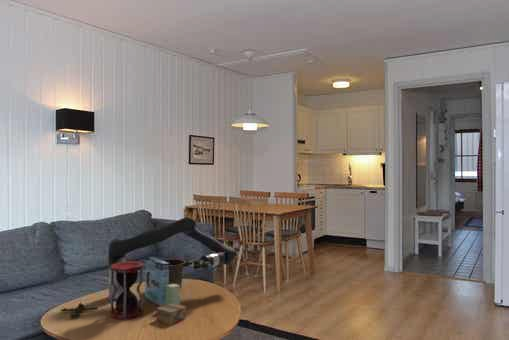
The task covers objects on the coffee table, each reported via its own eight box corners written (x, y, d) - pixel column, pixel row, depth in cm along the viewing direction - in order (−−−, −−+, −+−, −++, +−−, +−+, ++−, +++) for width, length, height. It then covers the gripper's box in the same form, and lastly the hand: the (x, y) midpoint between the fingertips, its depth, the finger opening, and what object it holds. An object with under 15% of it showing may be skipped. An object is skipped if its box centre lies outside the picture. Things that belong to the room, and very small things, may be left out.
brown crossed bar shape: (54, 314, 201) (63, 301, 216) (54, 322, 202) (63, 309, 216) (93, 312, 204) (99, 300, 218) (93, 320, 204) (99, 307, 219)
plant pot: (171, 293, 244) (171, 266, 244) (152, 289, 253) (152, 262, 252) (190, 287, 257) (190, 261, 257) (171, 283, 266) (171, 258, 266)
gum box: (144, 297, 236) (145, 257, 236) (153, 296, 239) (153, 256, 239) (160, 306, 221) (160, 264, 221) (169, 304, 224) (169, 262, 224)
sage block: (172, 310, 216) (172, 287, 216) (166, 308, 219) (166, 285, 219) (179, 307, 220) (179, 285, 220) (173, 305, 223) (173, 283, 223)
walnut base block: (170, 325, 196) (170, 312, 196) (156, 320, 202) (156, 308, 202) (185, 318, 204) (186, 306, 204) (171, 314, 210) (172, 302, 210)
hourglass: (107, 320, 201) (107, 269, 201) (113, 309, 217) (113, 261, 216) (141, 318, 203) (141, 268, 203) (144, 307, 219) (145, 260, 219)
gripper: (201, 252, 245) (180, 257, 232) (218, 256, 236) (197, 261, 223) (201, 265, 245) (180, 270, 232) (218, 269, 236) (197, 275, 223)
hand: (188, 266), depth 228 cm, fingers open, 8 cm apart
